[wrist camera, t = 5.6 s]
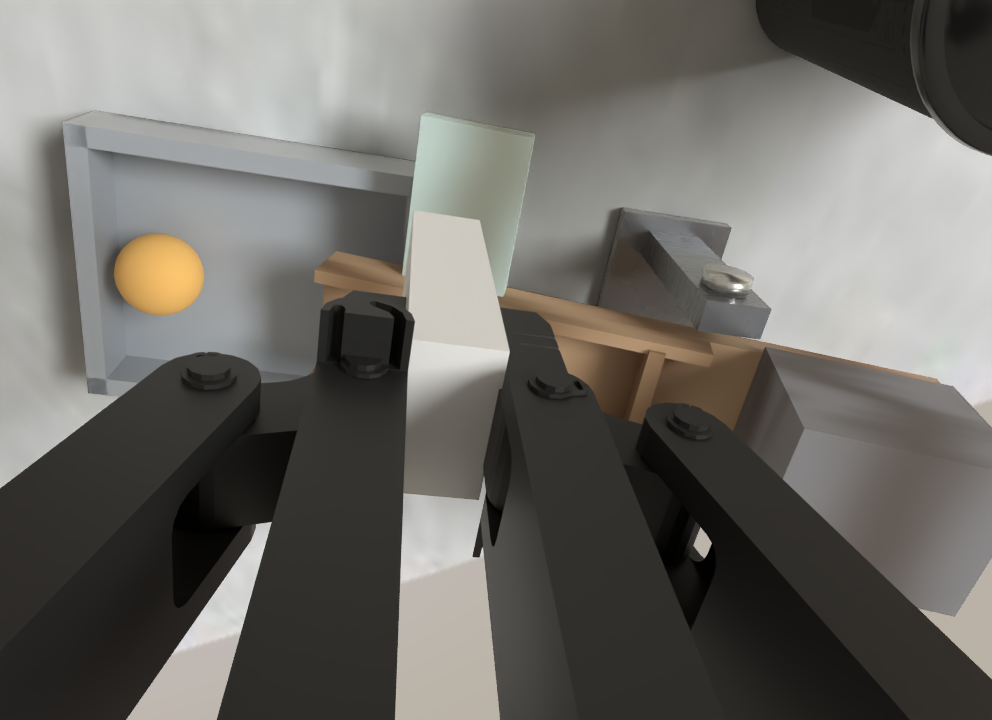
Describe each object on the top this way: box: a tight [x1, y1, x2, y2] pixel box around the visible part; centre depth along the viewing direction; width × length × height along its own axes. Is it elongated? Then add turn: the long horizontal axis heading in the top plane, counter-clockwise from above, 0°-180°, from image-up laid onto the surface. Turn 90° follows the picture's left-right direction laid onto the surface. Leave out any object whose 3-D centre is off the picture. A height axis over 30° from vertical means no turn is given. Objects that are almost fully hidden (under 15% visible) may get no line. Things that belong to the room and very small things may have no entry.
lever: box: [310, 112, 992, 616], centre depth 25 cm, size 24×11×7 cm, turn 80°
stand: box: [597, 208, 771, 339], centre depth 31 cm, size 5×10×9 cm, turn 170°
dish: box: [62, 111, 416, 396], centre depth 31 cm, size 14×12×3 cm
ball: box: [114, 233, 204, 315], centre depth 30 cm, size 3×3×3 cm
